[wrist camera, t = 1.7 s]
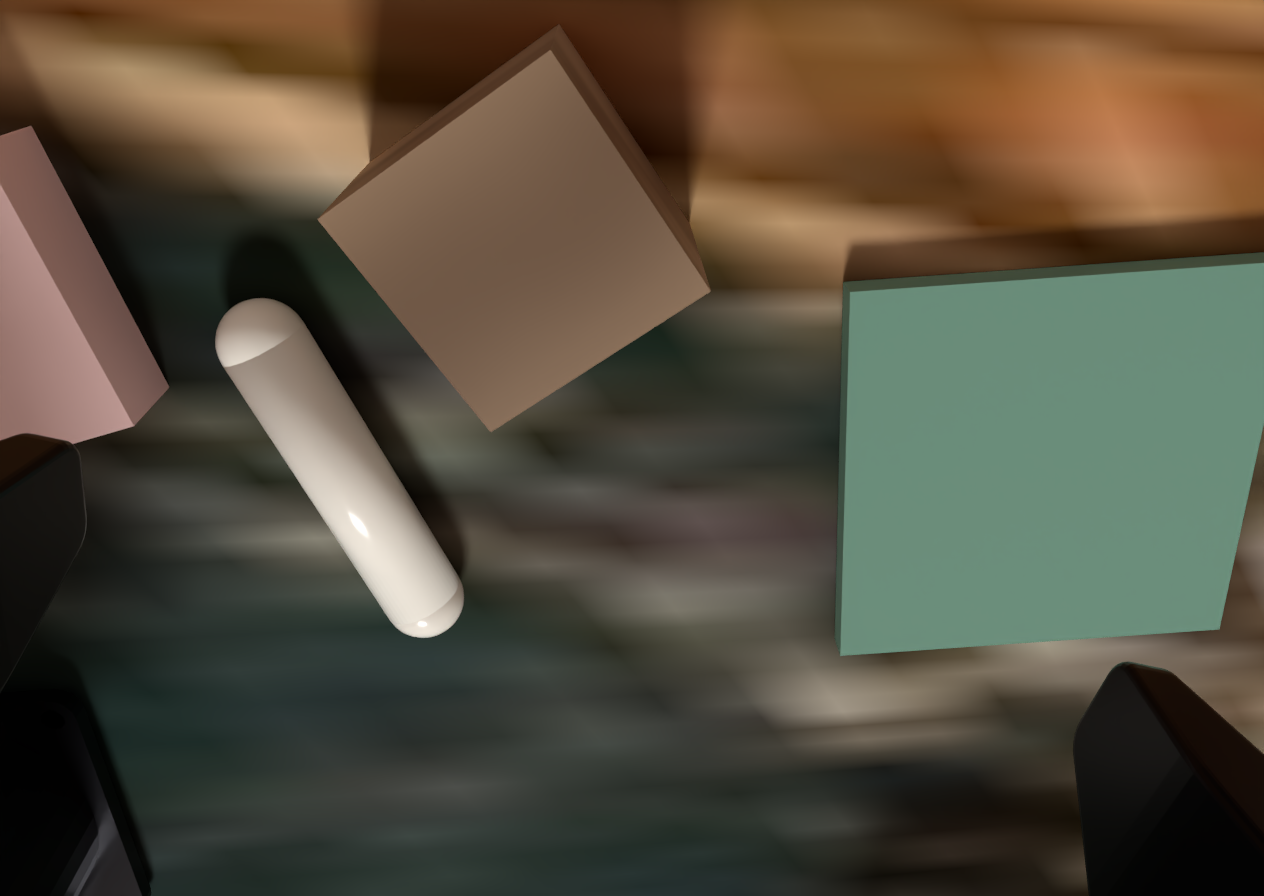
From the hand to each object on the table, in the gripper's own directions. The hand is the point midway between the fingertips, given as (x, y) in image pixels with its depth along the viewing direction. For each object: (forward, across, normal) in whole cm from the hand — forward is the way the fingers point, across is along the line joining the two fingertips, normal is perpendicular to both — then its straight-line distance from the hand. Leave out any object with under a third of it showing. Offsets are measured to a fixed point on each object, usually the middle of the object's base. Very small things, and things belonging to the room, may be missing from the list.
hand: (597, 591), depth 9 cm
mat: (+12, -8, +4) cm, 15 cm away
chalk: (+10, +5, +7) cm, 13 cm away
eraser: (+10, +11, +4) cm, 15 cm away
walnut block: (+11, +2, +1) cm, 11 cm away
